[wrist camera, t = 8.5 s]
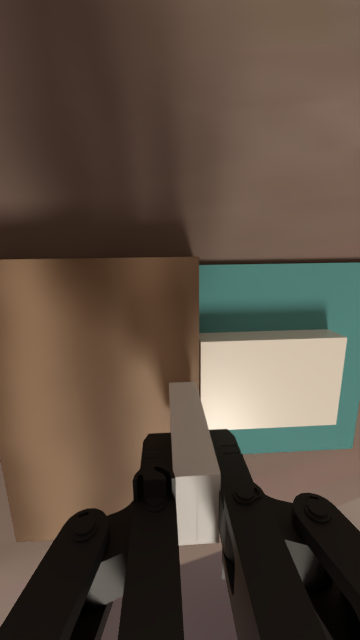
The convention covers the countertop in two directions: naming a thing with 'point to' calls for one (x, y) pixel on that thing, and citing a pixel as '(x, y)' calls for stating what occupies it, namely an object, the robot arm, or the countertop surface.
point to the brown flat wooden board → (88, 378)
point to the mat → (290, 314)
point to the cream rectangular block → (270, 378)
